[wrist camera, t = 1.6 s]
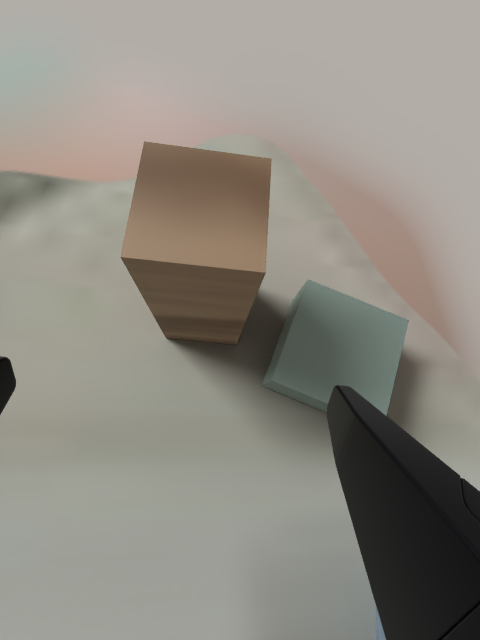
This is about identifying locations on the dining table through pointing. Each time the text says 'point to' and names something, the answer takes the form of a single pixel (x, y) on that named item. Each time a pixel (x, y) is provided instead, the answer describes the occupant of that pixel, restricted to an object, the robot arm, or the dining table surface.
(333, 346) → the base block
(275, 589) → the dining table surface
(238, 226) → the walnut column
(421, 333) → the dining table surface
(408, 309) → the dining table surface
